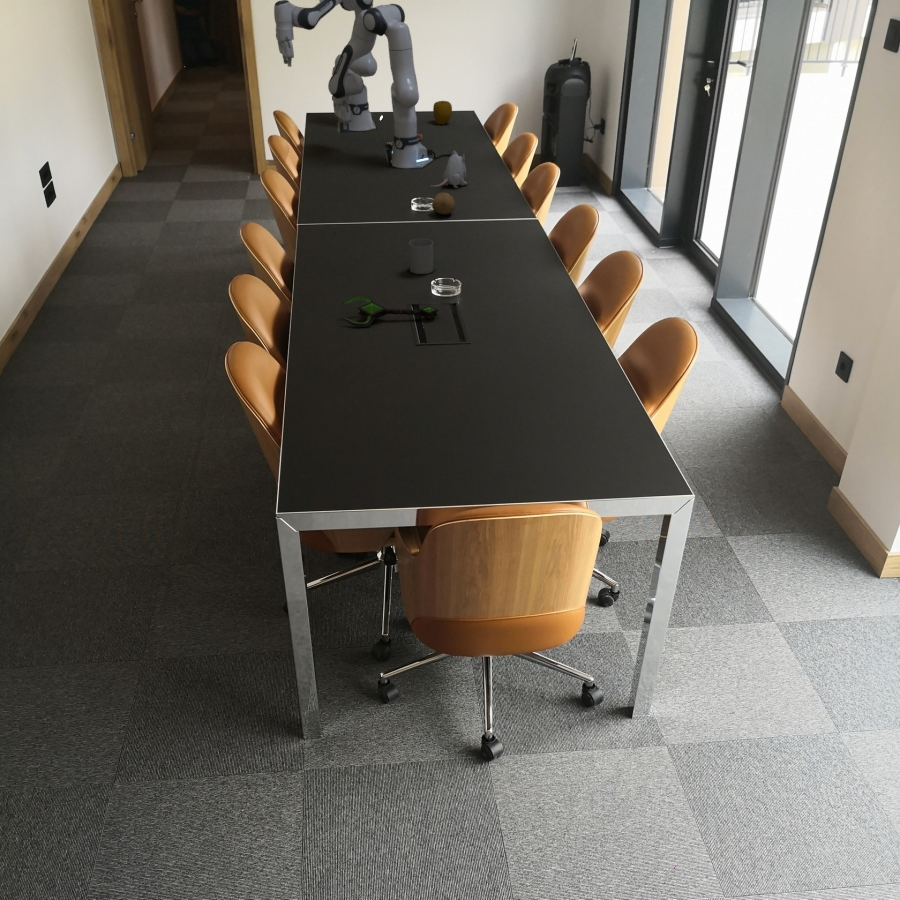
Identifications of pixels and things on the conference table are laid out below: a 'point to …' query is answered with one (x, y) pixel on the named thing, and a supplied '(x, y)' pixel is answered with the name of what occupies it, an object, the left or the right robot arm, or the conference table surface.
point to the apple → (442, 112)
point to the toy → (454, 171)
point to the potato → (443, 203)
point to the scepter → (384, 311)
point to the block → (340, 128)
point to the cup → (421, 256)
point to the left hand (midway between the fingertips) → (287, 65)
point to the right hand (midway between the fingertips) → (343, 127)
